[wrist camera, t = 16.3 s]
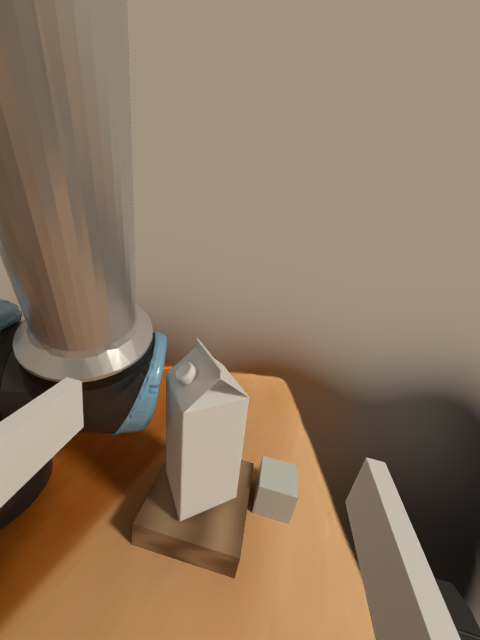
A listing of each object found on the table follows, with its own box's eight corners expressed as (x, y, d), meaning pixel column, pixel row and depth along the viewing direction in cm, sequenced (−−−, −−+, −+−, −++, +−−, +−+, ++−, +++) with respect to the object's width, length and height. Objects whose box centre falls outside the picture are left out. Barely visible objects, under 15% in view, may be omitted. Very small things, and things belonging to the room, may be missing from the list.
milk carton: (215, 454, 38) (225, 335, 31) (236, 498, 32) (254, 363, 26) (165, 470, 35) (165, 341, 28) (179, 523, 29) (183, 375, 22)
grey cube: (252, 513, 35) (259, 486, 33) (256, 480, 40) (262, 455, 38) (288, 524, 34) (298, 497, 33) (288, 489, 39) (296, 465, 37)
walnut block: (131, 547, 29) (132, 523, 28) (174, 461, 41) (176, 441, 39) (233, 581, 28) (240, 558, 27) (248, 483, 40) (253, 463, 38)
